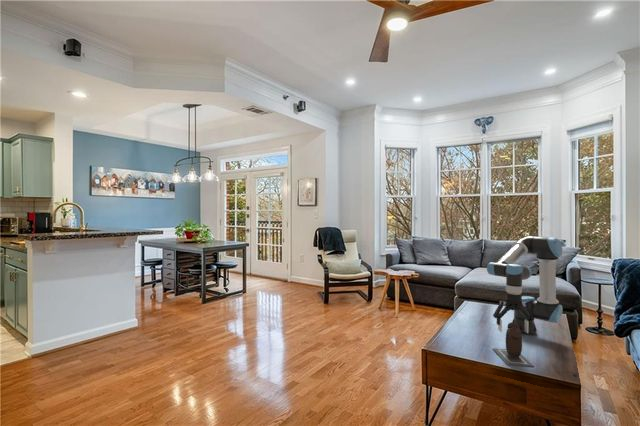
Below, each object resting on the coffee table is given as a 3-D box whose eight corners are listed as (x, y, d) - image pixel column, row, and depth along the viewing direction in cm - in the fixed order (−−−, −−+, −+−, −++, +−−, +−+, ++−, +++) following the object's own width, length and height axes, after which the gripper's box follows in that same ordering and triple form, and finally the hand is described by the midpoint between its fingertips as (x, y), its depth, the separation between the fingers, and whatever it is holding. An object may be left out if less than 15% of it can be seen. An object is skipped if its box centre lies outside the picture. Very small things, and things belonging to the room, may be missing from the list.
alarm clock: (504, 350, 191) (505, 315, 191) (518, 352, 188) (519, 317, 188) (506, 360, 178) (507, 322, 178) (522, 363, 175) (523, 325, 175)
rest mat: (516, 351, 192) (516, 349, 192) (533, 367, 173) (533, 365, 173) (492, 349, 194) (492, 348, 194) (507, 365, 174) (507, 363, 174)
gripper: (534, 292, 185) (534, 330, 186) (487, 290, 188) (486, 327, 189) (542, 295, 178) (541, 335, 178) (492, 293, 181) (491, 332, 181)
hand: (513, 331), depth 184 cm, fingers open, 13 cm apart
